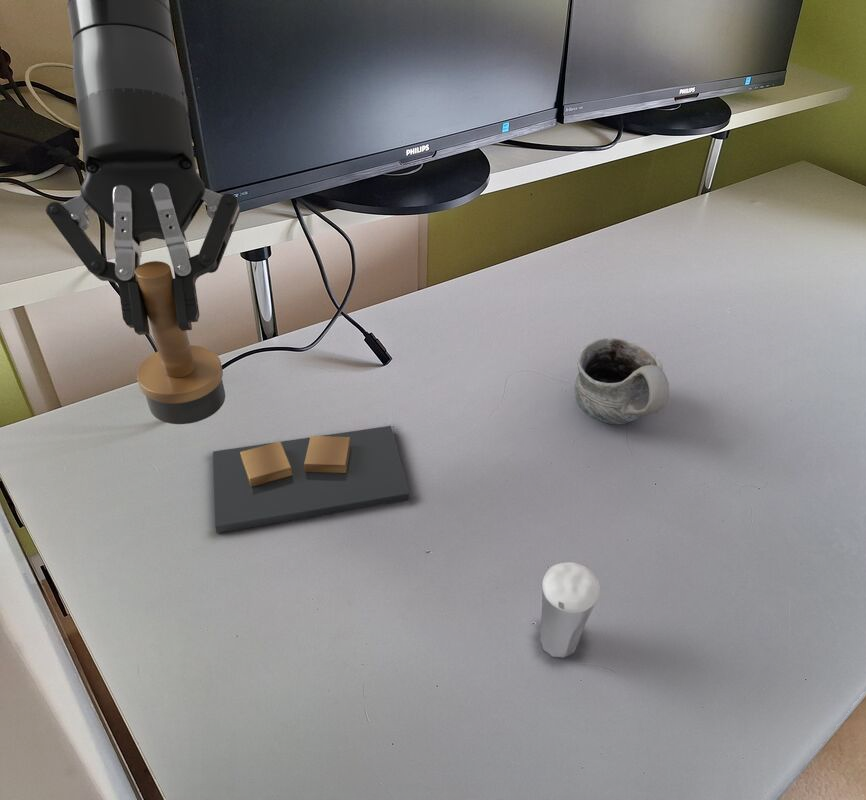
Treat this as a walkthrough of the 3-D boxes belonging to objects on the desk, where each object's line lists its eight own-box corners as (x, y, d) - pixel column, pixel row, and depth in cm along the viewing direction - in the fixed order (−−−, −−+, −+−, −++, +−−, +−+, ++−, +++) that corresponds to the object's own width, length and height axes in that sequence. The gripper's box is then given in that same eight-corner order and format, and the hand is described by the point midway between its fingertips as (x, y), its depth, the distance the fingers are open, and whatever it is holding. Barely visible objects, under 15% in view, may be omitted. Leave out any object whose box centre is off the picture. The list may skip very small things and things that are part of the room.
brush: (145, 431, 62) (100, 297, 53) (148, 381, 66) (108, 250, 57) (229, 420, 63) (199, 289, 55) (226, 372, 68) (199, 244, 59)
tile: (216, 533, 70) (214, 526, 70) (214, 458, 77) (212, 451, 77) (409, 499, 76) (409, 493, 75) (391, 432, 83) (390, 425, 82)
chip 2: (305, 472, 76) (304, 463, 75) (311, 443, 79) (310, 435, 78) (346, 473, 76) (345, 464, 76) (350, 445, 79) (350, 436, 79)
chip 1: (251, 487, 74) (249, 479, 73) (241, 460, 76) (239, 451, 75) (292, 475, 75) (291, 467, 75) (281, 449, 78) (280, 440, 77)
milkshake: (520, 660, 64) (532, 591, 57) (544, 610, 68) (557, 540, 61) (571, 682, 63) (589, 614, 56) (591, 630, 67) (610, 561, 60)
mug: (614, 373, 94) (628, 306, 88) (686, 433, 87) (708, 365, 81) (553, 399, 90) (564, 331, 83) (624, 465, 83) (643, 396, 76)
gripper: (10, 85, 52) (43, 333, 52) (226, 83, 56) (258, 313, 56) (46, 129, 59) (75, 348, 59) (235, 124, 63) (263, 329, 63)
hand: (164, 330), depth 57 cm, fingers closed on brush, 2 cm apart
